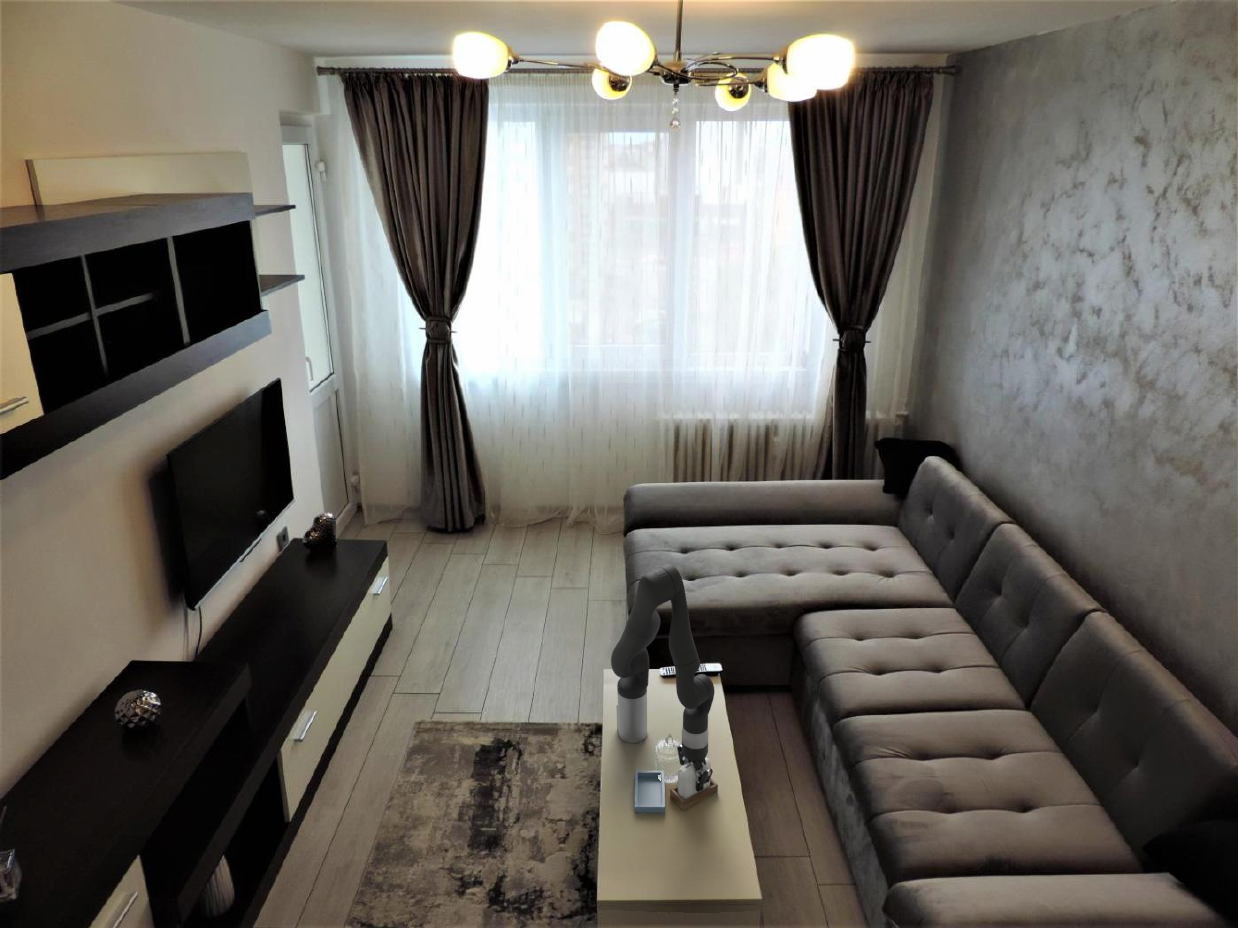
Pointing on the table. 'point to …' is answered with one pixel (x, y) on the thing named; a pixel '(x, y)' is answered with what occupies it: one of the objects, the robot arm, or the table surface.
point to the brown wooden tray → (694, 799)
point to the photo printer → (689, 781)
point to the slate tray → (649, 792)
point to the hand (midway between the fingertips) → (694, 784)
